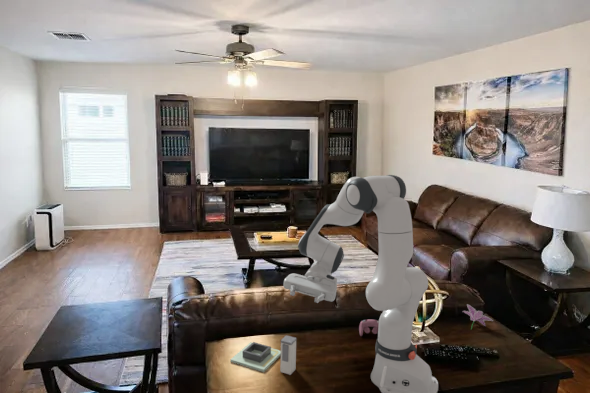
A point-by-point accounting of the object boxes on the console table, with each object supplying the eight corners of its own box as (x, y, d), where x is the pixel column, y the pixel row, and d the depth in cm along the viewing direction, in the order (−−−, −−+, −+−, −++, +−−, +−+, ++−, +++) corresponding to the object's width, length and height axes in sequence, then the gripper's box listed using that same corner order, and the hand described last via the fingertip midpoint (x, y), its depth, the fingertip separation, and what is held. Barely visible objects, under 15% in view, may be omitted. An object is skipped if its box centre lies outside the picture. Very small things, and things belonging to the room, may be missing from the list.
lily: (494, 335, 194) (498, 313, 196) (472, 328, 190) (477, 305, 193) (473, 331, 205) (478, 310, 207) (452, 324, 202) (457, 302, 204)
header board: (282, 353, 175) (282, 345, 174) (263, 372, 163) (263, 363, 162) (250, 344, 181) (250, 336, 180) (230, 361, 169) (230, 353, 168)
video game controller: (382, 337, 192) (382, 320, 194) (383, 337, 187) (384, 319, 189) (358, 335, 193) (359, 318, 195) (359, 336, 188) (359, 318, 190)
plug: (295, 369, 165) (296, 337, 163) (289, 375, 161) (290, 343, 158) (285, 366, 167) (286, 335, 164) (279, 372, 163) (279, 341, 160)
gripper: (291, 266, 183) (278, 282, 170) (341, 279, 177) (331, 297, 164) (289, 280, 185) (276, 297, 172) (338, 293, 179) (329, 312, 167)
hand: (303, 297), depth 168 cm, fingers open, 8 cm apart
